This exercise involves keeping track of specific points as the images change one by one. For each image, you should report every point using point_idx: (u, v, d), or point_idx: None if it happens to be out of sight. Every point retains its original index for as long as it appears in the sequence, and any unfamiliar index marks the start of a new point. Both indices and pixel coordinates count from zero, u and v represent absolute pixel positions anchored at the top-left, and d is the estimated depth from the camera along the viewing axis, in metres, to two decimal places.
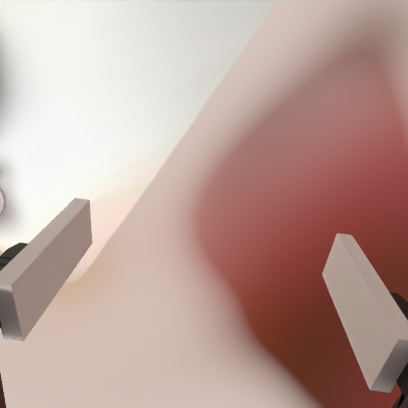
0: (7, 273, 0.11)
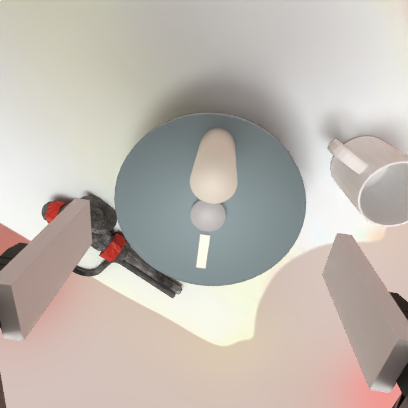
0: (7, 273, 0.11)
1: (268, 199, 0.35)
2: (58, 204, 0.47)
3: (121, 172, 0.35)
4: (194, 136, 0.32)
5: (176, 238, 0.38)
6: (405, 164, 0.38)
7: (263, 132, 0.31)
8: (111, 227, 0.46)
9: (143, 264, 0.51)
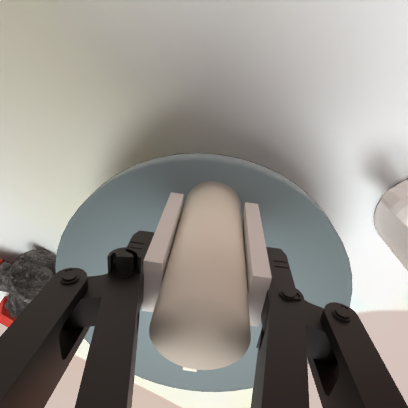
0: (153, 253, 0.13)
1: None
2: None
3: (62, 243, 0.22)
4: None
5: None
6: None
7: (288, 189, 0.19)
8: None
9: None
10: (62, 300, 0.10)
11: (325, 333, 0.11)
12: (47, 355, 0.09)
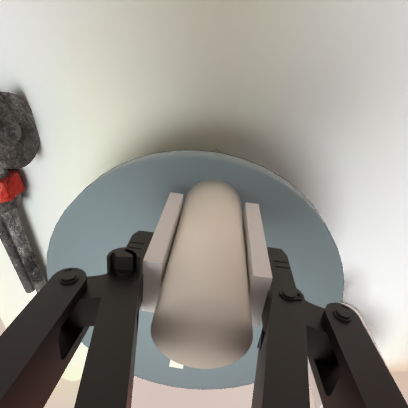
0: (153, 253, 0.13)
1: None
2: None
3: (56, 233, 0.22)
4: (175, 189, 0.20)
5: (141, 328, 0.25)
6: None
7: (289, 192, 0.19)
8: (17, 166, 0.27)
9: (22, 234, 0.33)
10: (61, 300, 0.10)
11: (326, 333, 0.11)
12: (46, 355, 0.09)
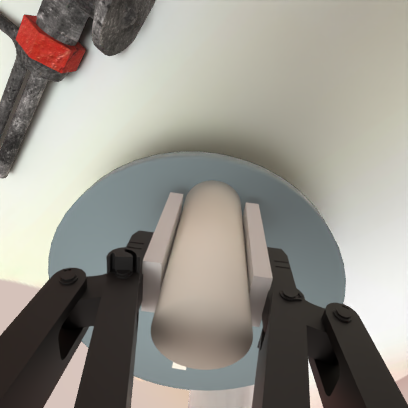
0: (153, 253, 0.13)
1: None
2: None
3: (57, 236, 0.22)
4: (175, 191, 0.20)
5: (144, 329, 0.25)
6: None
7: (289, 192, 0.19)
8: (106, 51, 0.23)
9: (33, 109, 0.27)
10: (61, 300, 0.10)
11: (326, 333, 0.11)
12: (46, 355, 0.09)
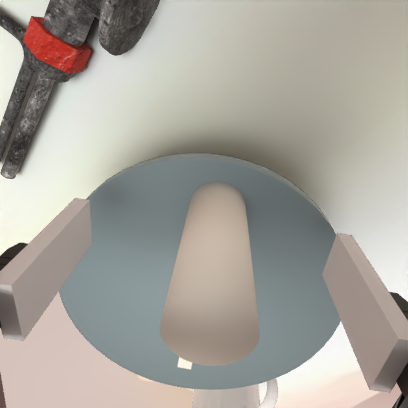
0: (7, 273, 0.11)
1: (291, 286, 0.23)
2: None
3: None
4: (180, 192, 0.20)
5: (149, 329, 0.26)
6: None
7: (293, 192, 0.19)
8: (112, 51, 0.23)
9: (40, 109, 0.27)
10: None
11: None
12: None
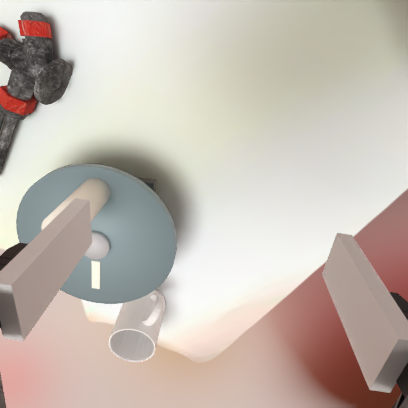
0: (7, 273, 0.11)
1: (143, 234, 0.42)
2: (47, 32, 0.39)
3: (20, 208, 0.41)
4: (77, 183, 0.39)
5: None
6: None
7: (132, 182, 0.39)
8: (45, 103, 0.42)
9: (10, 135, 0.46)
10: None
11: None
12: None
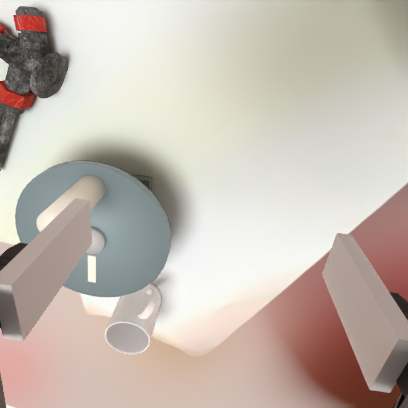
0: (7, 273, 0.11)
1: (138, 230, 0.43)
2: (42, 26, 0.40)
3: (19, 203, 0.43)
4: (73, 180, 0.40)
5: None
6: None
7: (126, 180, 0.40)
8: (42, 96, 0.43)
9: (10, 129, 0.47)
10: None
11: None
12: None
